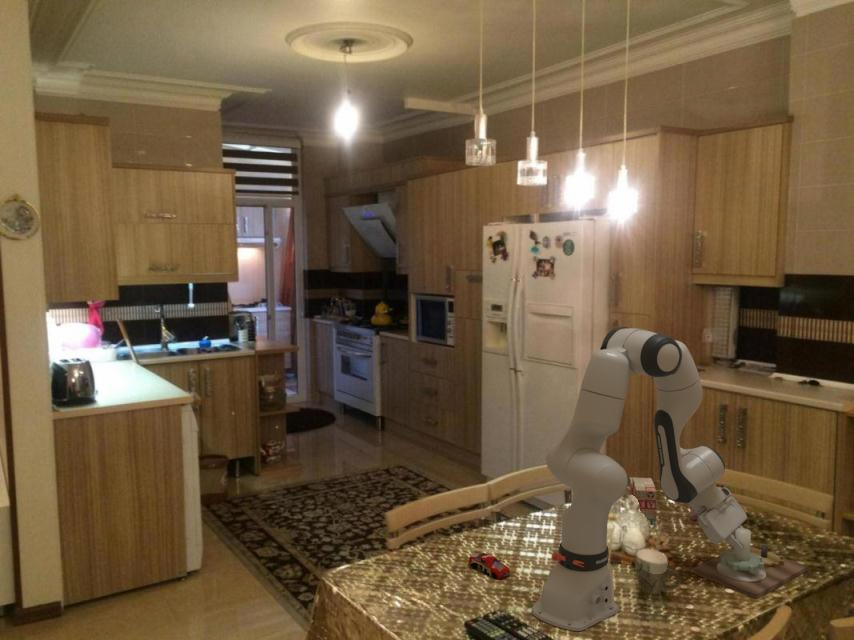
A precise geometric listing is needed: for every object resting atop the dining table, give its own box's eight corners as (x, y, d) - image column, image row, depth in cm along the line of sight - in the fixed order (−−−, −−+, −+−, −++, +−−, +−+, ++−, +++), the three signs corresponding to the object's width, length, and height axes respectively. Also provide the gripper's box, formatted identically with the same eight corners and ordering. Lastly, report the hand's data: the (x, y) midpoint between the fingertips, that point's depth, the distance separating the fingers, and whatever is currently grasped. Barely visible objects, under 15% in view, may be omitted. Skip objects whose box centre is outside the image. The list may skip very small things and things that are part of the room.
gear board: (756, 599, 175) (757, 578, 175) (692, 572, 190) (692, 553, 189) (807, 570, 190) (808, 551, 190) (744, 548, 205) (745, 530, 204)
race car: (513, 577, 189) (514, 563, 189) (499, 583, 186) (499, 568, 185) (480, 560, 199) (480, 547, 199) (466, 566, 196) (466, 552, 195)
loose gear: (757, 576, 179) (758, 543, 178) (713, 564, 187) (714, 531, 186) (769, 562, 188) (770, 529, 187) (727, 550, 195) (728, 519, 194)
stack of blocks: (628, 503, 242) (629, 468, 241) (647, 504, 241) (648, 469, 240) (635, 527, 222) (635, 489, 220) (655, 528, 220) (656, 490, 219)
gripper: (703, 507, 182) (741, 553, 177) (729, 486, 197) (765, 528, 192) (685, 519, 185) (722, 565, 180) (712, 498, 201) (747, 540, 195)
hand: (744, 546), depth 186 cm, fingers closed on loose gear, 4 cm apart
